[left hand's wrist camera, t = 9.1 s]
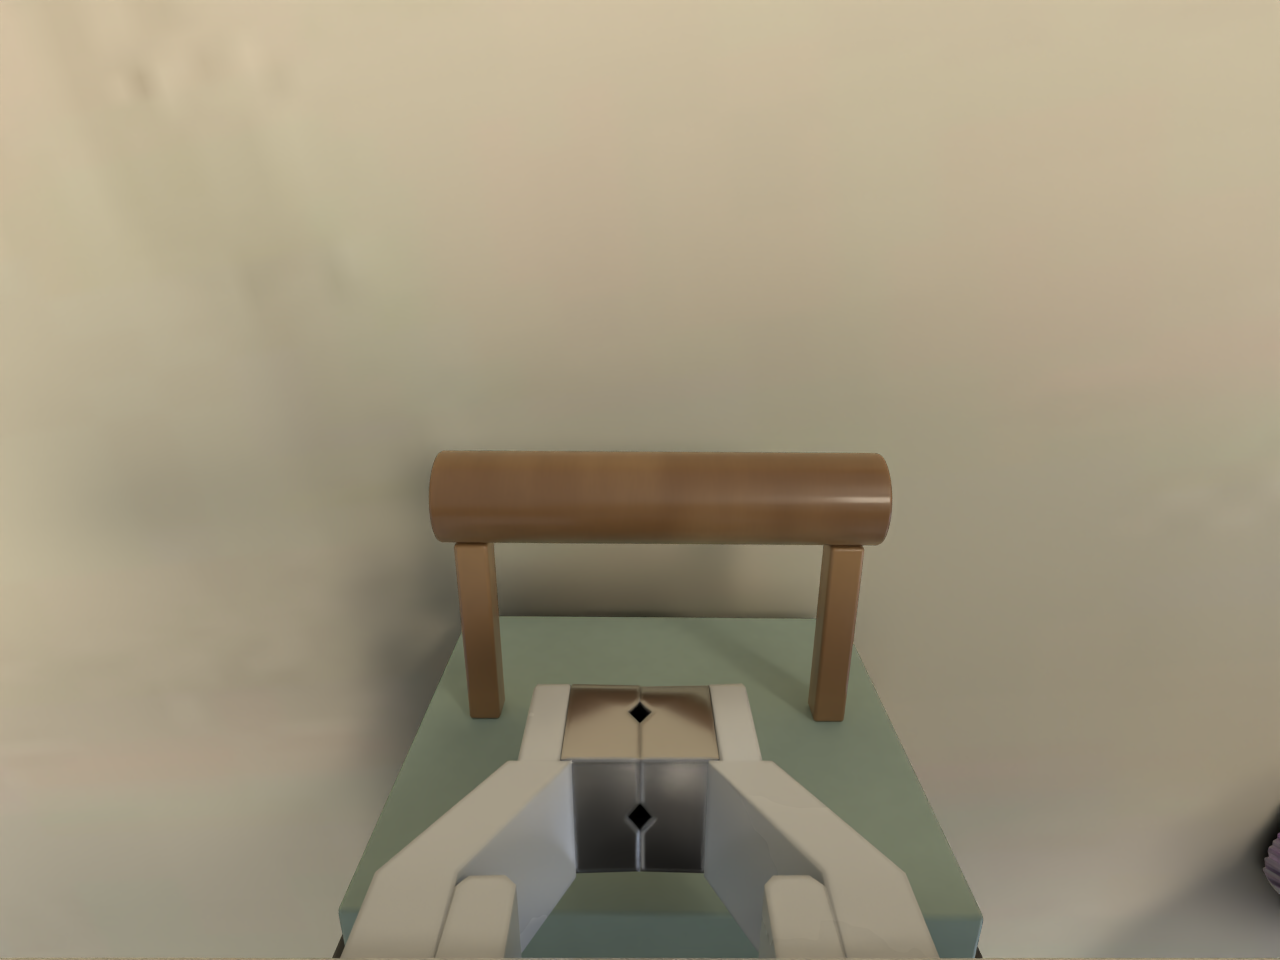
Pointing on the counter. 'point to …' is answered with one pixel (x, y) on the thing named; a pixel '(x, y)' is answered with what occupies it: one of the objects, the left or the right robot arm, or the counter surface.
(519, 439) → the counter surface
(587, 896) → the drawer
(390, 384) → the counter surface
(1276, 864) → the figurine
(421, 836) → the left robot arm
